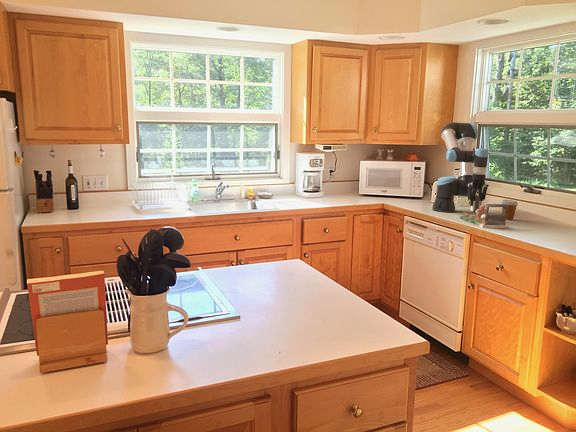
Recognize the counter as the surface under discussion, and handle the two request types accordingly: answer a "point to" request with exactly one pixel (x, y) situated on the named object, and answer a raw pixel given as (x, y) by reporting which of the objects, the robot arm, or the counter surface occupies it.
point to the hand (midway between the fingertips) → (474, 210)
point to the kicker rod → (476, 208)
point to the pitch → (488, 218)
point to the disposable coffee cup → (509, 208)
